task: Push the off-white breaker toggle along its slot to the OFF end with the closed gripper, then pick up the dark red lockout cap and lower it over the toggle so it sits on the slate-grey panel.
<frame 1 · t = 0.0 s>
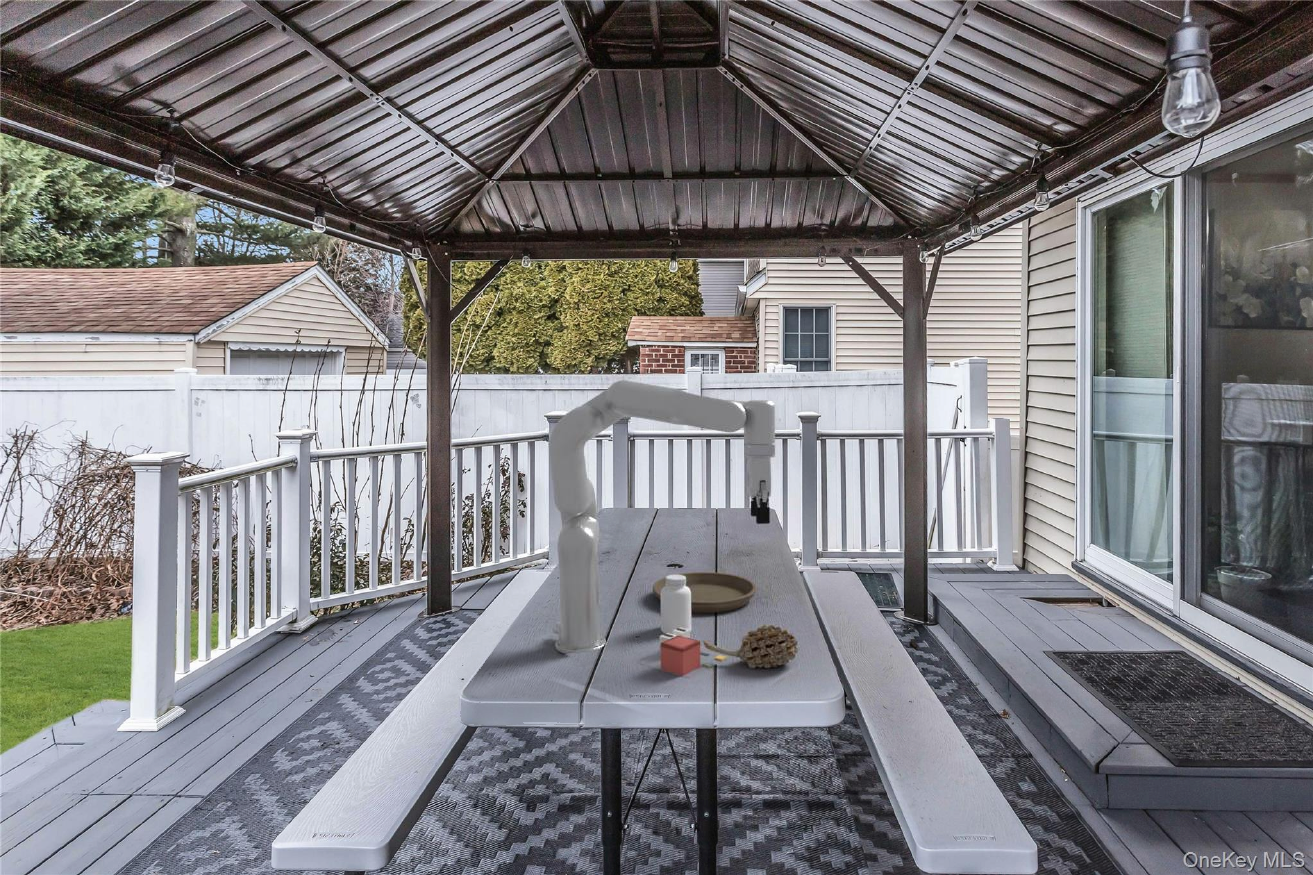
hand: (760, 519, 188), 31 cm above the table, tool pointing down, fingers open, 9 cm apart
plant saucer: (704, 600, 228), on the table
breaker toggle: (681, 638, 185), point 4 cm above the table, slide at 0.0 cm
pine cone: (749, 669, 174), on the table
pill bottle: (676, 634, 199), on the table
lockout cap: (680, 667, 172), point 1 cm above the table, touching breaker panel
breaker panel: (686, 662, 178), on the table
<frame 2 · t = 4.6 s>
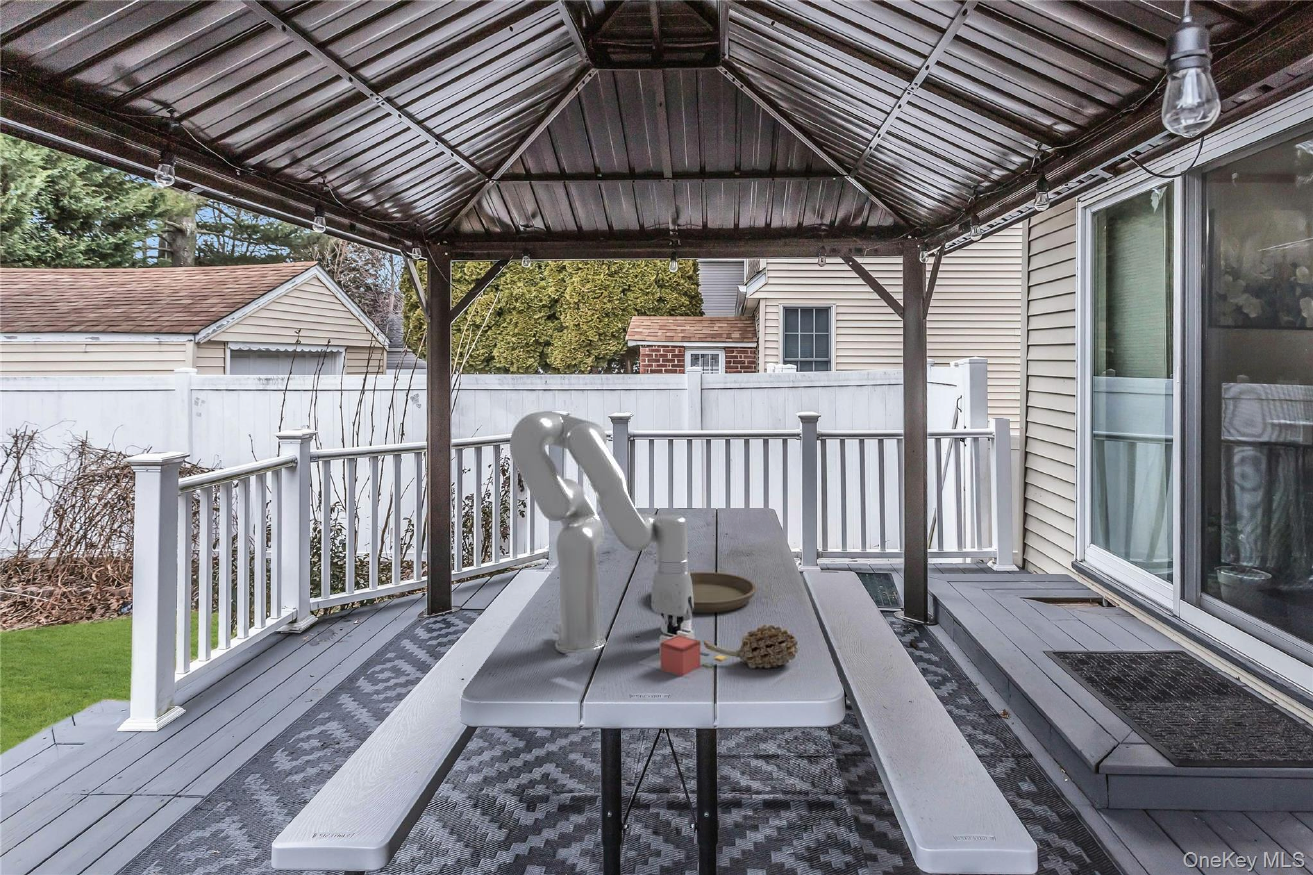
hand: (674, 640, 186), 2 cm above the table, tool pointing down, fingers closed
breaker toggle: (685, 639, 184), point 4 cm above the table, slide at 1.4 cm, touching gripper
everything else where it was.
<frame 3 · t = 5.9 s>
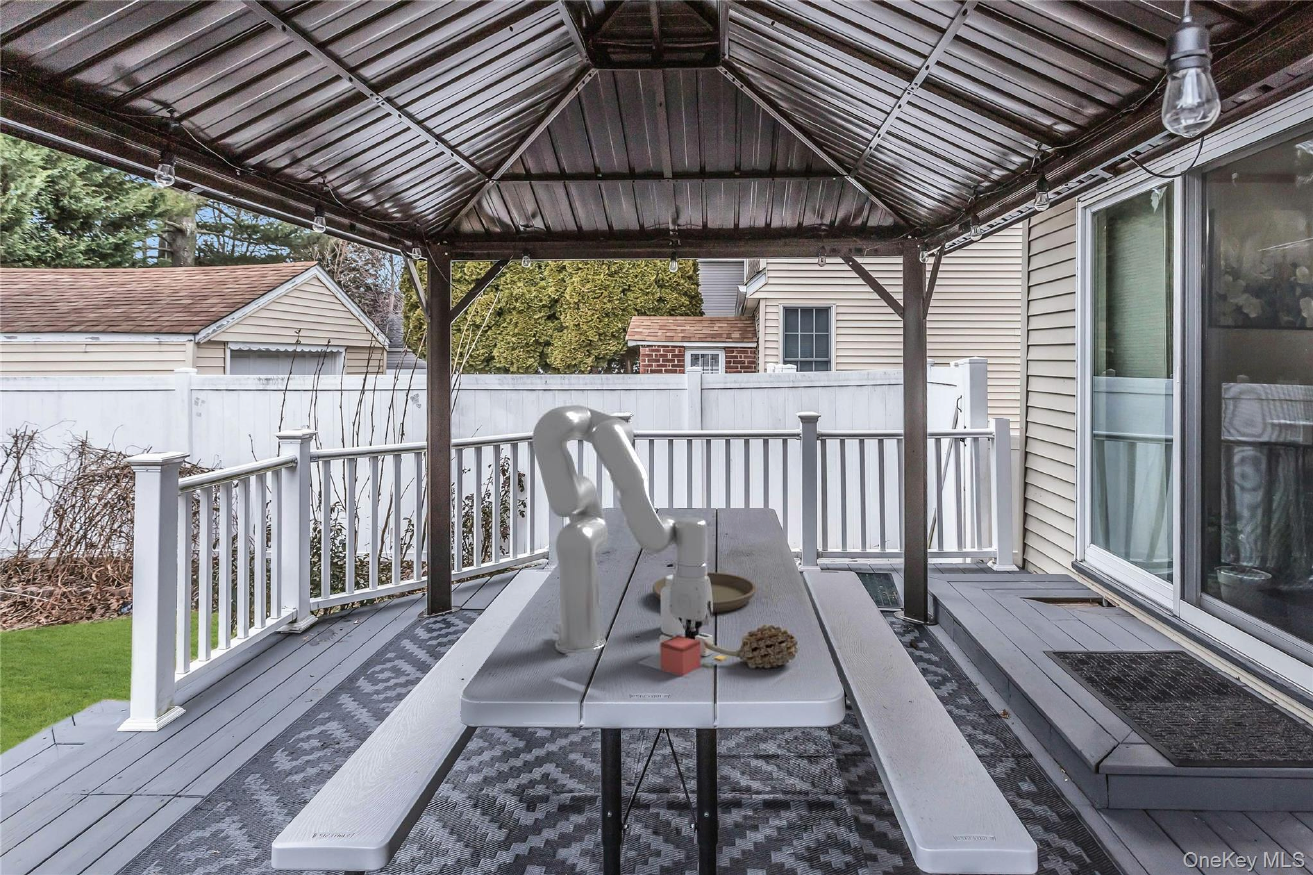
hand: (691, 645, 183), 2 cm above the table, tool pointing down, fingers closed
breaker toggle: (704, 644, 180), point 4 cm above the table, slide at 6.8 cm, touching gripper
everything else where it was.
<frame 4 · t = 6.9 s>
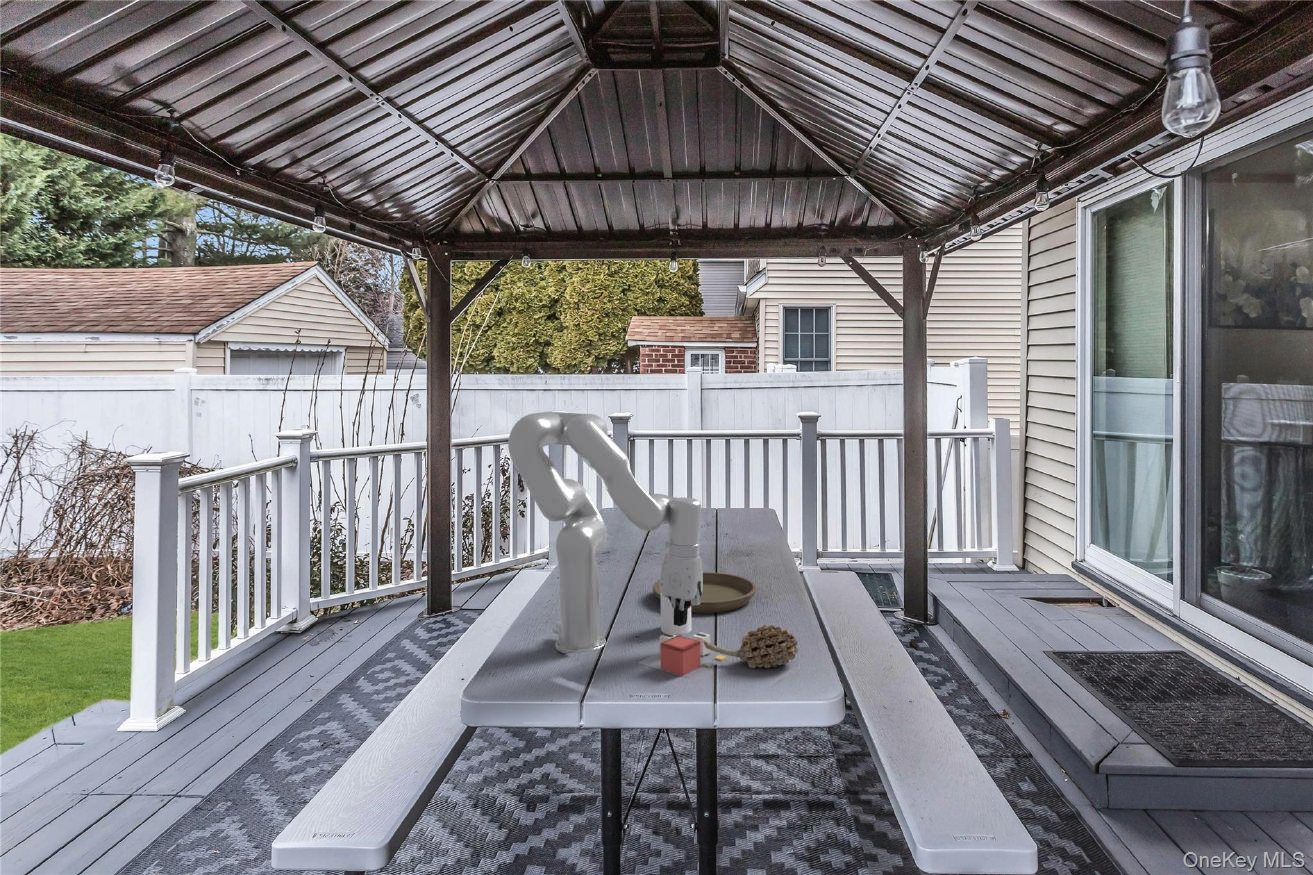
hand: (680, 624, 184), 7 cm above the table, tool pointing down, fingers closed
breaker toggle: (701, 643, 181), point 4 cm above the table, slide at 6.0 cm
everything else where it was.
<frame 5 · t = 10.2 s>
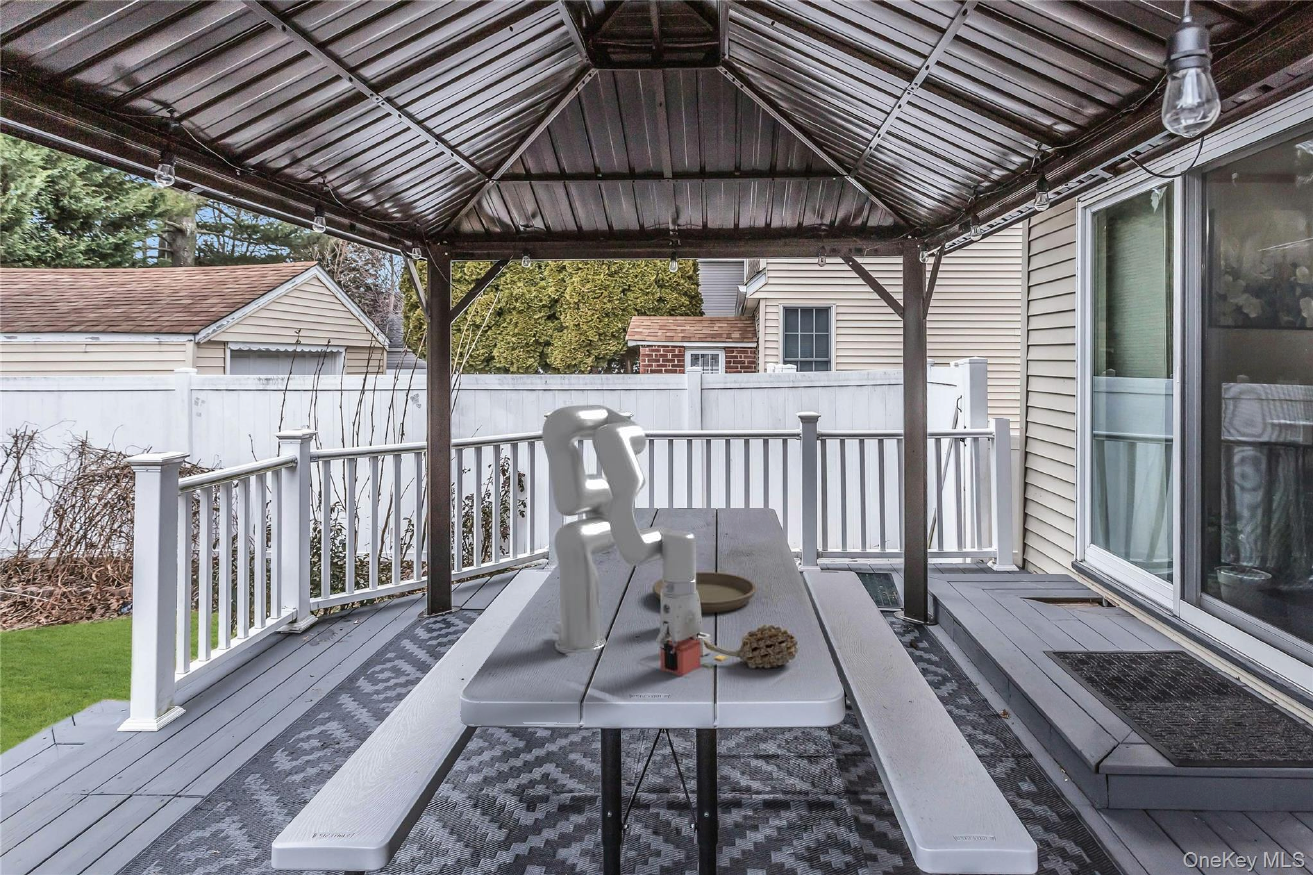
hand: (680, 663, 172), 2 cm above the table, tool pointing down, fingers closed on lockout cap, 6 cm apart
lockout cap: (680, 667, 172), point 1 cm above the table, touching breaker panel, gripper
everything else where it was.
when the fingers open (3 cm above the table, at t = 15.5 s): lockout cap drops 2 cm, resting on breaker panel, breaker toggle.
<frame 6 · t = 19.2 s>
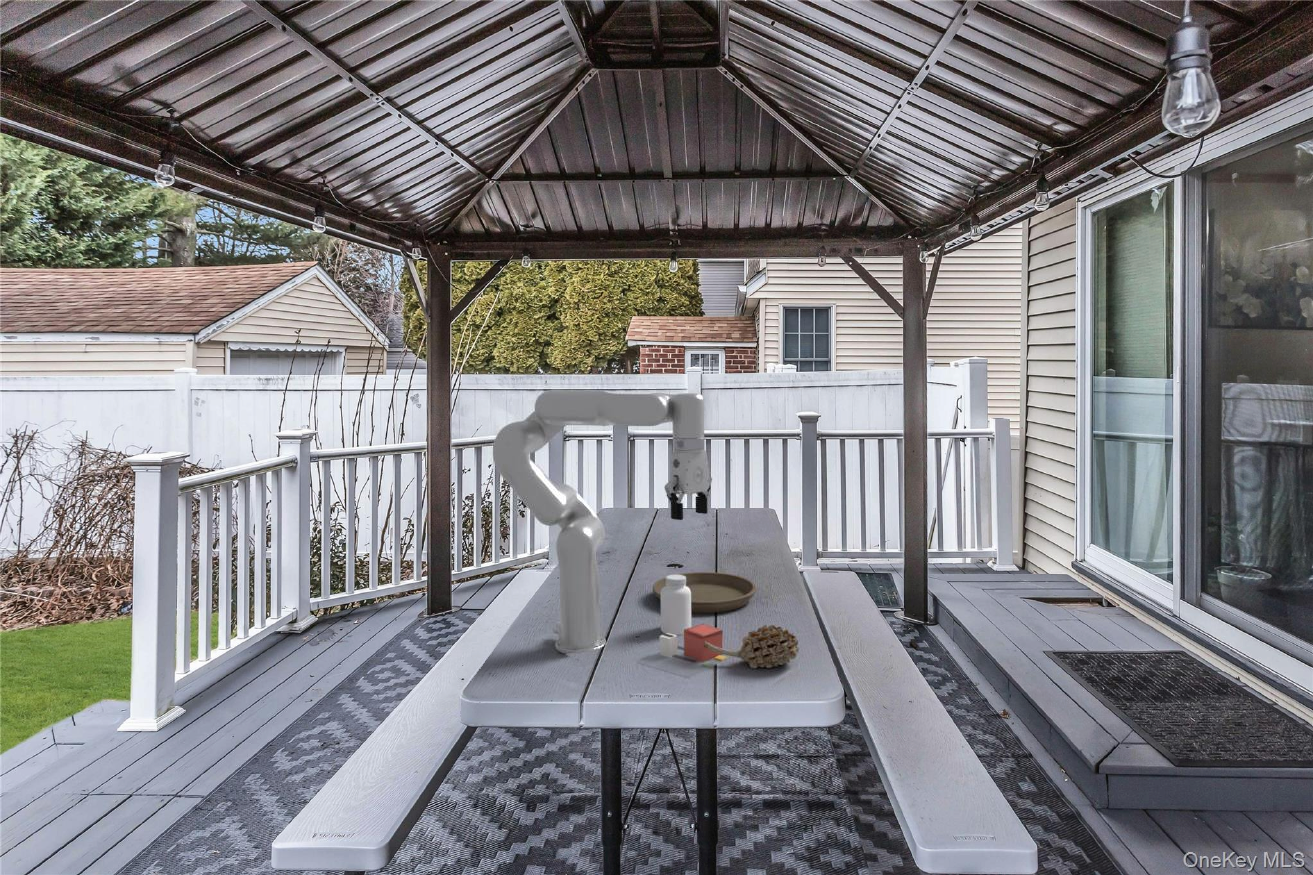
hand: (689, 516, 183), 33 cm above the table, tool pointing down, fingers open, 9 cm apart
breaker toggle: (701, 643, 181), point 4 cm above the table, slide at 6.0 cm, touching lockout cap
lockout cap: (703, 654, 180), point 1 cm above the table, touching breaker panel, breaker toggle
everything else where it was.
at the end: breaker toggle slide at 6.0 cm; lockout cap 0.8 cm from the target spot, point 1.1 cm above the table; the gripper is holding nothing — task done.
